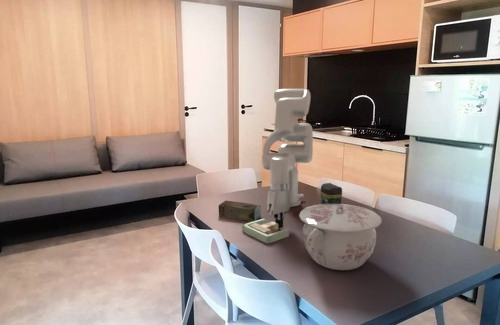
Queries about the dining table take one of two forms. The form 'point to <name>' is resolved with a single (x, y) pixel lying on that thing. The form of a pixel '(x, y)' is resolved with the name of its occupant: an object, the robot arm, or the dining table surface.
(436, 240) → the dining table surface
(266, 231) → the t block
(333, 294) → the dining table surface
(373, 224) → the chamber pot
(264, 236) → the dock
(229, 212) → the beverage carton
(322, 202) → the coffee jar
